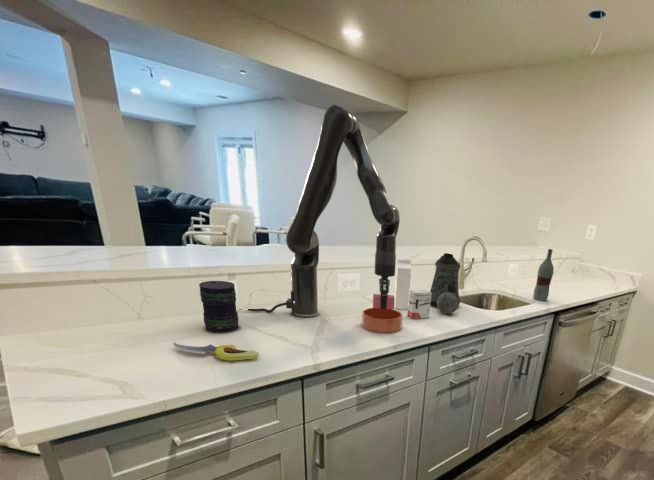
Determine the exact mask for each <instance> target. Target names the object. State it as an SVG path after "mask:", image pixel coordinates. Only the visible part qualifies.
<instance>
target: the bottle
mask: <svg viewBox="0 0 654 480" xmlns="http://www.w3.org/2000/svg"><path fill="white" fill-rule="evenodd" d="M552 254H553V249H551V248H548V249H547V254H546V258H545V259H544V260H543V261H542V263H540V265H539V267H538V270H537V278H536V284H535V287H534V289H533V297H532V298H533V300H535V301H539V302H546V301H548V297H549V295H550V285H551V282H552V278H553V276H554V269H555V268H554V264H553V261H552Z"/></svg>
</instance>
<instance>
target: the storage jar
mask: <svg viewBox="0 0 654 480" xmlns="http://www.w3.org/2000/svg"><path fill="white" fill-rule="evenodd" d="M198 286H199V295H200V301H201V303H202V307H203V308H202V310H203V313H202V314H203V323H204V326H205V327H204V328H205V331H207V332H208V333H212V334H228V333H233V332H236V331H237V330H239V329H240V327H239V326H240V325H239V315H238V310H236V307H237V305H236V302H237V293H236V289H235V287H236V286H235V283H233V282H231V281H226V280H225V281H224V280H209V281H208V280H207V281H203V282H200V283H199V284H198Z"/></svg>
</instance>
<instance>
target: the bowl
mask: <svg viewBox="0 0 654 480" xmlns="http://www.w3.org/2000/svg"><path fill="white" fill-rule="evenodd" d="M361 316H362V320H361V325H362V327H363V328H364V329H365V330H367V331H370V332H373V333H377V334H378V333H380V334H392V333H396V332H399V331H400V330H401V329H402V326H403V313H402V312H401V311H399V310H398V309H380V308H373V307H368V308H366V309H364V310H362V315H361Z"/></svg>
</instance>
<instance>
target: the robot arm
mask: <svg viewBox="0 0 654 480" xmlns="http://www.w3.org/2000/svg"><path fill="white" fill-rule="evenodd" d="M343 144H344V145H345V147H346V149H347V151H348V153H349V154H350V156H351V159H352V161H353V164H354V168H355V172H356V176H357V179H358V181H359V183H360V185H361V188H362V190H363V191H364V194H365V196H366V198H367V199H368V203H369V208H370V210H371V213H372V216H373V218H374V220H375V221H376V222H377V224H378V225H380V229H379V232H378V233H377V235H376V238H375V239H376V240H375V241H376V242H375V252H374V253H375V254H374V274H375V275H376V276H379V277H380V278H379V279H378V285H379V294H381V296H380V298H381V309H386V307H387V299H388V295H389V292H390V285H391V280H390V279H389V278H390V277H395V276H396V265H397V262H396V261H397V254H396V253H397V251H396V249H397V236H398V232H399V226H400V223H401V222H400V219H401V217H400V211H399V210H398V208H397V207H396V206H395V205H393V204H390V203H389V201H388V199H387V196H386V195H387V190H386V187H385V185H384V183H383V180H382V178H381V176H380V174H379V172H378V169H377V168H376V166H375V164H374V161H373V159H372V157H371V155H370V152H369V149H368V147H367V144H366V142H365V139H364V135H363V132H362V129H361V126H360V123H359V120H358V118H357V115H355V114H354V112H352V111H351V110H350V109H348V108H347V107H345V106H343V105H342V104H339V103H335V104H331V105H330V106H329V107H327V109H326V110H325V112H324V115H323V118H322V123H321V128H320V133H319V137H318V142H317V146H316V150H315V151H314V155H313V158H312V162H311V165H310V168H309V170H308V173H307V177H306V179H305V182H304V186H303V190H302V193H301V197H300V199H299V203H298V206H297V210H296V213H295V215H294V218H293V220H292V222H291V224H290V226H289V228H288V231H287V233H286V238H285V242H286V246H287V248H288V249H289V250H290V252H291V253H293V254H294V256H293V259H292V261H291V263H290V276H291V277H290V278H291V290H290V298H287V299H286V301H285V302H282V303H278V304H276V305H274V306H273V307H272V308H270V309H267V308H251V309H248V310H246V311H247V312H265V313H269V314H270V313H273V312H274V311H275V310H276V309H277V308H280V307H284V306H285V308H286V309H291V316H295V317H299V318H313V317H317V316H318V315H319V309H318V308H319V305H318V266H319V261H320V240H319V236H318V234H317V233H316V231H315V228H316V224H317V222H318V220H319V218H320V217H321V215H322V214H323V212H324V211H325V209H326V208H327V206H328V205H329V203H330V201H331V199H332V198H333V194H334V192H335V188H336V186H337V181H338V180H337V179H338V160H339V154H340V151H341V149H342V146H343ZM383 295H386V296H383ZM240 310H241V311H243V310H242V309H239V310H238V311H240Z"/></svg>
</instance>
